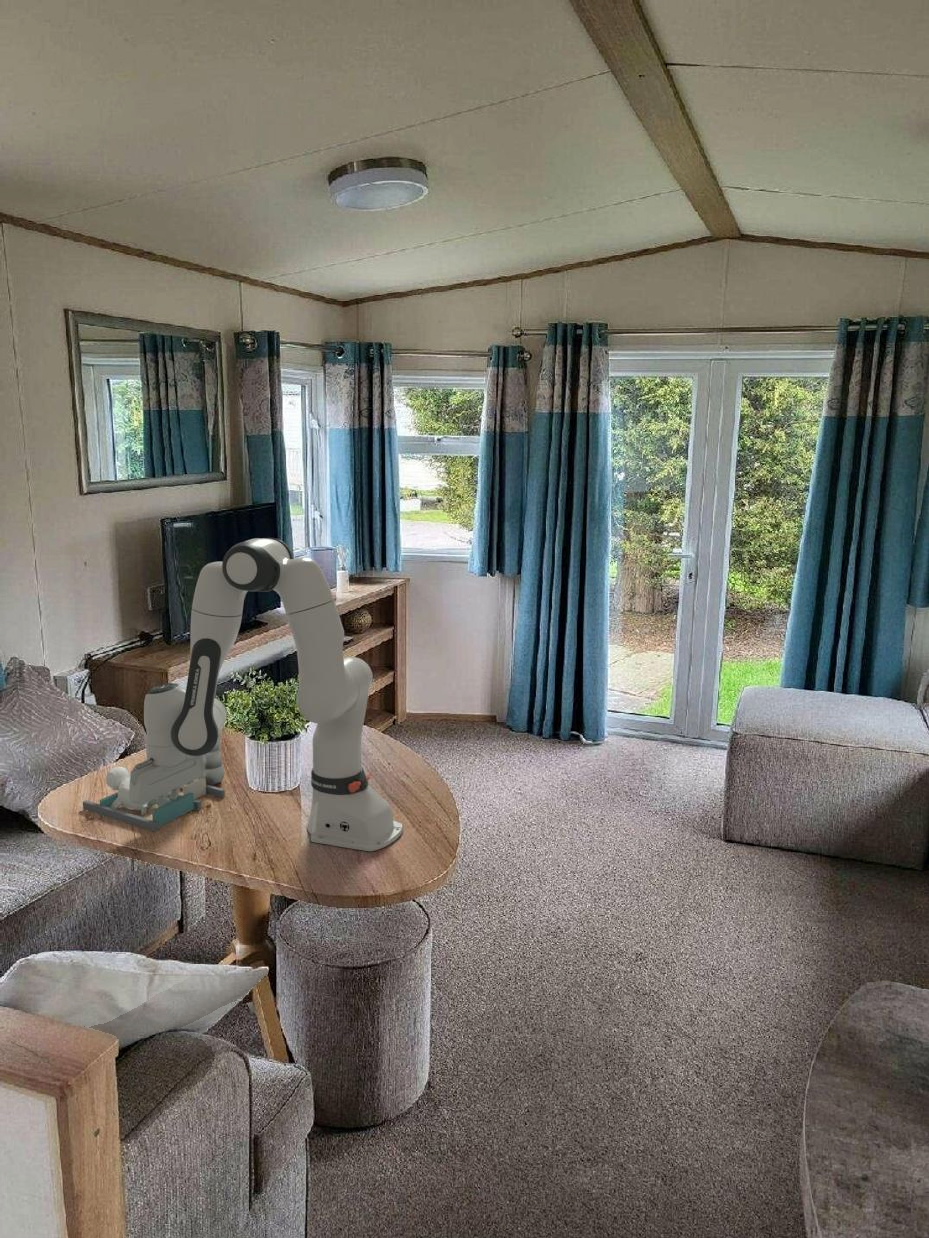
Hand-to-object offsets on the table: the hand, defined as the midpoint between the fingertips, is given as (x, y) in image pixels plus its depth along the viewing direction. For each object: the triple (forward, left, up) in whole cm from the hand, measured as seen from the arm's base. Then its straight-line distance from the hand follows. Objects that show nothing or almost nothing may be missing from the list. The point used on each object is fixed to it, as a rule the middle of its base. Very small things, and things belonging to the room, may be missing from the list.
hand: (169, 807), depth 205 cm
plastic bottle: (+6, -20, -3) cm, 21 cm away
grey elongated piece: (+11, -11, -2) cm, 15 cm away
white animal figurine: (+12, 0, -3) cm, 13 cm away
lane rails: (+9, -4, -2) cm, 10 cm away
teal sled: (+7, 0, -2) cm, 8 cm away
